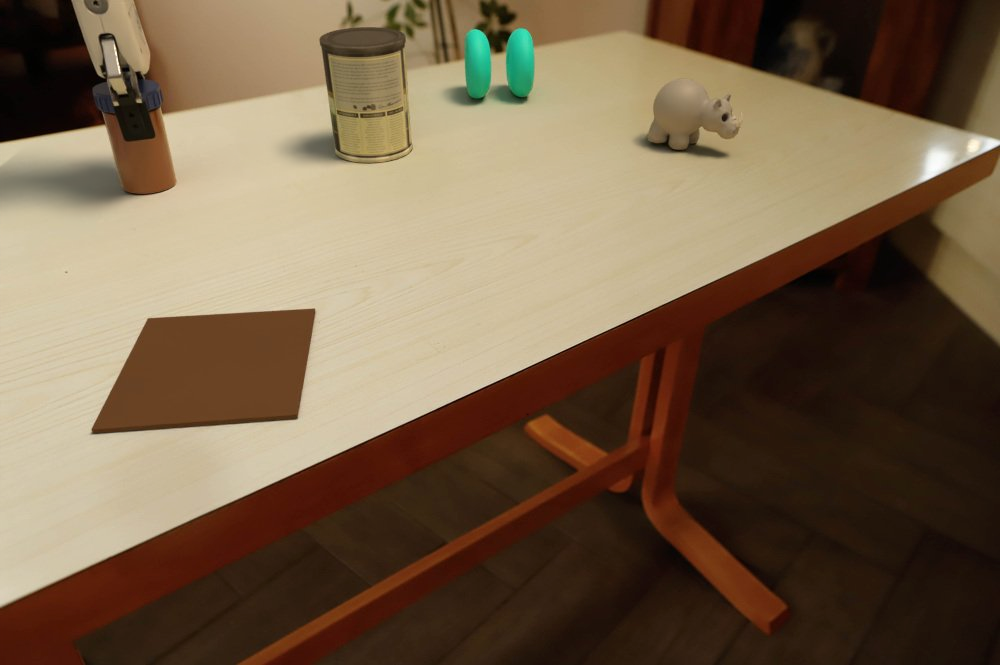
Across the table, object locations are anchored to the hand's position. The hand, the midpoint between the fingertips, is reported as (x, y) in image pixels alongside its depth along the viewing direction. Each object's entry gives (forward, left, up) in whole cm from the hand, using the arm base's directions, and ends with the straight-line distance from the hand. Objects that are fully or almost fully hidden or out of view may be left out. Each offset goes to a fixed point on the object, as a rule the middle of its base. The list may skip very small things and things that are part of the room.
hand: (141, 126), depth 82 cm
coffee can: (+25, +9, -7) cm, 28 cm away
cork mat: (+14, -37, -7) cm, 40 cm away
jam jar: (-1, 0, -7) cm, 7 cm away
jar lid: (0, 0, +4) cm, 4 cm away
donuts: (+44, +30, -7) cm, 54 cm away
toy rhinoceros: (+67, +5, -7) cm, 68 cm away
